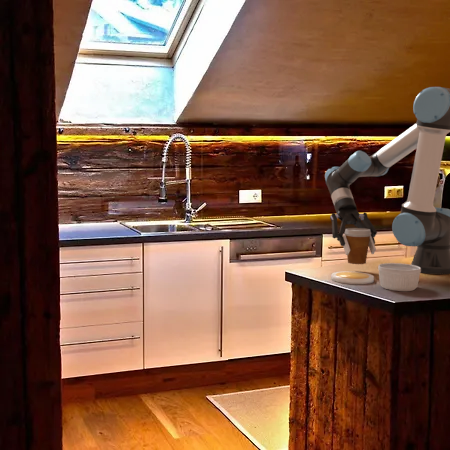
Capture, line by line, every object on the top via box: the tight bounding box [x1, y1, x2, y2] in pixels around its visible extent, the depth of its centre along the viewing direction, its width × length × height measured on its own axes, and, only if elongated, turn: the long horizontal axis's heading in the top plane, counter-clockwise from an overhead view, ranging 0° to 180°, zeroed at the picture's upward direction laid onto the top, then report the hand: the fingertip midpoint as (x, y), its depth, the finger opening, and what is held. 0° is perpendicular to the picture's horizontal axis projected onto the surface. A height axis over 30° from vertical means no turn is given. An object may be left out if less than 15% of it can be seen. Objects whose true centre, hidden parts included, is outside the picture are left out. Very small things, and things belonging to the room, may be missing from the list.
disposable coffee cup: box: [343, 227, 372, 265], centre depth 248 cm, size 10×10×12 cm
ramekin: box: [377, 262, 421, 292], centre depth 223 cm, size 13×13×7 cm
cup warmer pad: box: [330, 270, 375, 285], centre depth 234 cm, size 14×14×2 cm
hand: (361, 252), depth 245 cm, fingers closed on disposable coffee cup, 9 cm apart
